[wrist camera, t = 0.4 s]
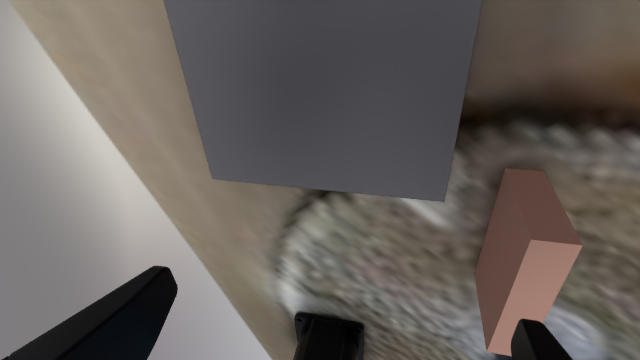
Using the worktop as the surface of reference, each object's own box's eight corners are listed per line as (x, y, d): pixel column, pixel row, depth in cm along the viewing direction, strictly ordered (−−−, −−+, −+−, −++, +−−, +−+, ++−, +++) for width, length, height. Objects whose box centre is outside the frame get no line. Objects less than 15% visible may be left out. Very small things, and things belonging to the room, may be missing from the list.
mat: (444, 198, 22) (444, 201, 22) (215, 176, 26) (212, 179, 25) (484, -20, 15) (485, -19, 15) (165, -9, 19) (161, -8, 19)
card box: (505, 277, 25) (525, 358, 20) (474, 272, 25) (486, 351, 20) (545, 170, 20) (584, 245, 15) (505, 167, 20) (531, 239, 15)
